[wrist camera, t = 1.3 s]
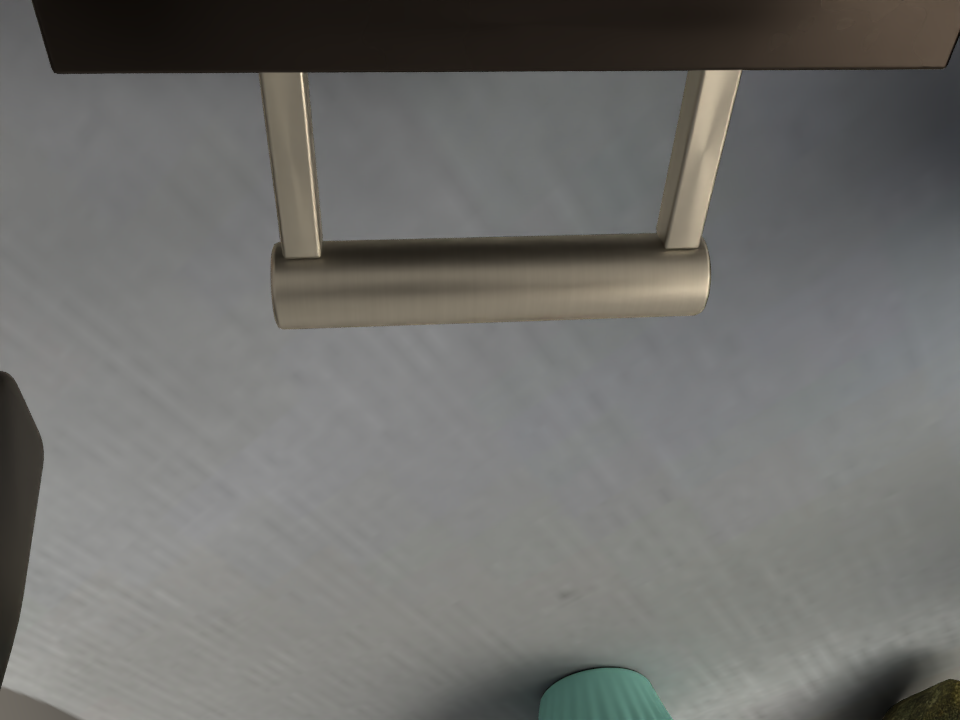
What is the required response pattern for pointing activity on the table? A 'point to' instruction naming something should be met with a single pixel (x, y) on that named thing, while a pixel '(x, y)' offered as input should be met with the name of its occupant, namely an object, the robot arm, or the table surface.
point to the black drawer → (492, 48)
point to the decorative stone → (929, 704)
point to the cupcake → (602, 697)
